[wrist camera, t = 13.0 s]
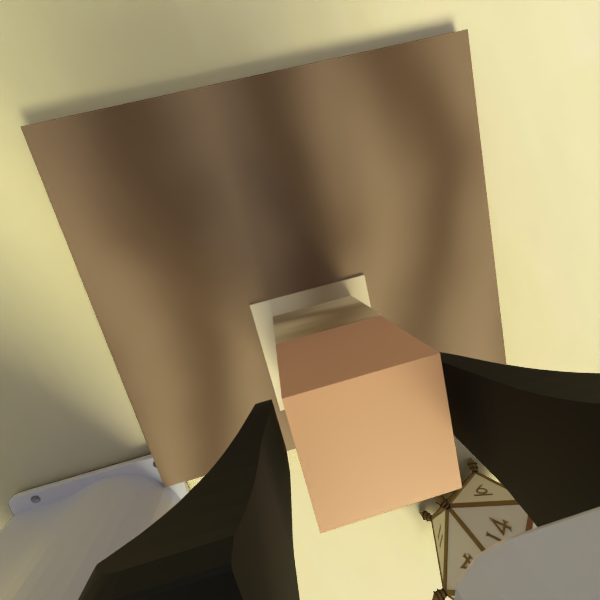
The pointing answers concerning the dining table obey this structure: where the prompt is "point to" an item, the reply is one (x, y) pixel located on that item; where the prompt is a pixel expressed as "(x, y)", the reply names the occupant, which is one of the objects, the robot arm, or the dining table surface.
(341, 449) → the terracotta block
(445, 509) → the game die
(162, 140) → the brown wooden board
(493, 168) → the dining table surface
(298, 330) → the birch block
